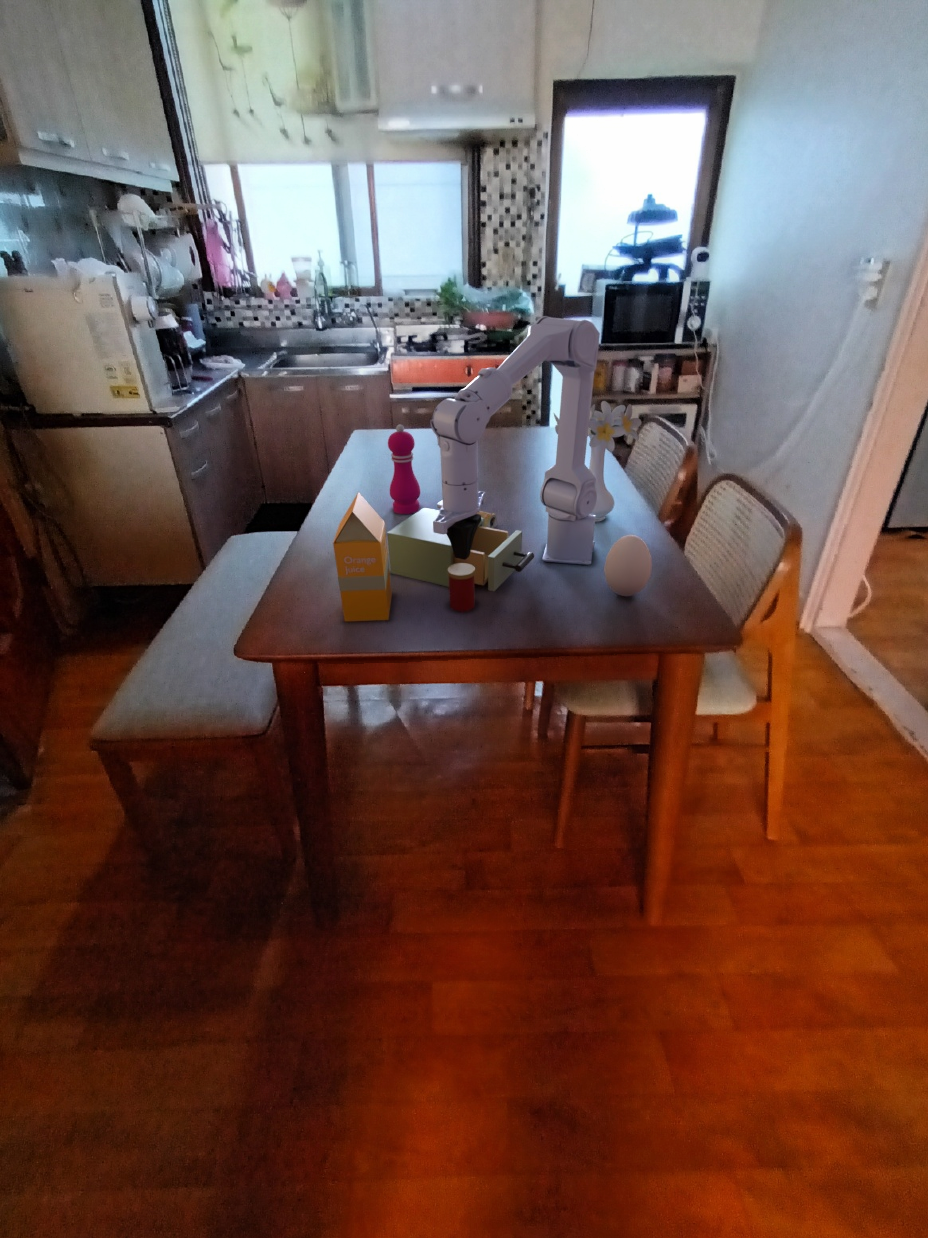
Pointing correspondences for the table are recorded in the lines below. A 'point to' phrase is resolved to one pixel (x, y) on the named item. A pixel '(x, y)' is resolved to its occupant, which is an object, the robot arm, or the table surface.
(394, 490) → the pepper mill
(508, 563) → the drawer
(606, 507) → the flower vase
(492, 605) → the table surface
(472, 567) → the tea tin
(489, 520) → the pastry
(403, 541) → the cabinet
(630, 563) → the egg
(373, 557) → the orange juice
